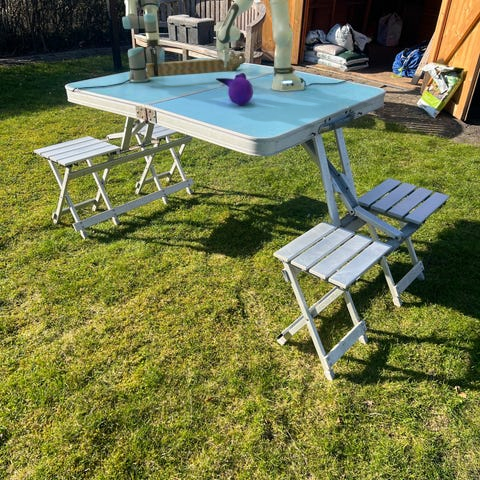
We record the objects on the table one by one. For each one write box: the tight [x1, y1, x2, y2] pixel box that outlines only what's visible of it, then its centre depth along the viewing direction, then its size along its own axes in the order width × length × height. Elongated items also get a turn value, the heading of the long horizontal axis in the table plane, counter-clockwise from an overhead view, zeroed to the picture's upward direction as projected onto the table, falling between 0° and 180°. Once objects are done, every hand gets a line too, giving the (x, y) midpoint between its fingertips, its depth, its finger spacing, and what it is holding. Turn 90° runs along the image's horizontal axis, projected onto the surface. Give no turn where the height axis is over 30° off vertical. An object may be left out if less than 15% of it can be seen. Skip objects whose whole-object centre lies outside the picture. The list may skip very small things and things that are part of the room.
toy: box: [215, 72, 254, 106], centre depth 272 cm, size 16×18×27 cm
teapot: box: [229, 50, 246, 71], centre depth 368 cm, size 21×12×15 cm, turn 120°
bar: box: [146, 58, 233, 79], centre depth 318 cm, size 61×6×8 cm, turn 107°
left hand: (155, 75), depth 314 cm, fingers closed on bar, 6 cm apart
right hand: (223, 66), depth 324 cm, fingers closed on bar, 5 cm apart
